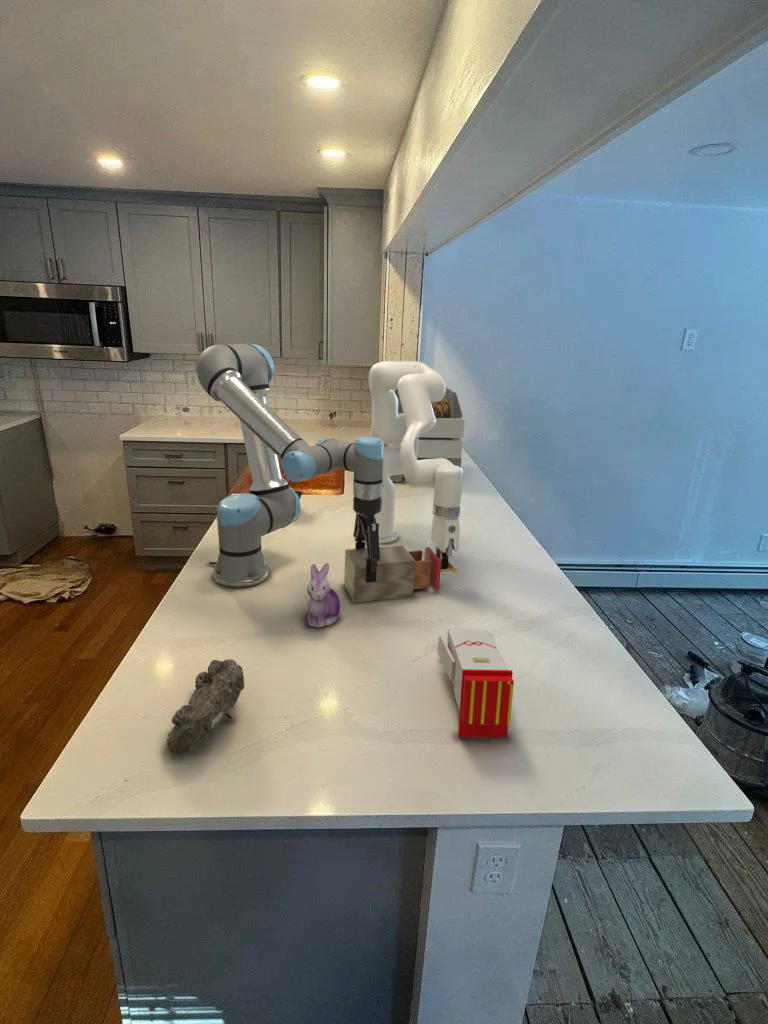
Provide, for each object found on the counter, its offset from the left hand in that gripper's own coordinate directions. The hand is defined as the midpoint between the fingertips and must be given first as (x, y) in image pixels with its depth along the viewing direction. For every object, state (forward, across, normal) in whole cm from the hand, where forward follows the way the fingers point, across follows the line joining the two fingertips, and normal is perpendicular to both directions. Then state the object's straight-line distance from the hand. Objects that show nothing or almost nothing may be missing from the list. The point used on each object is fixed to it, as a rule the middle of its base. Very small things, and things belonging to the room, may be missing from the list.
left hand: (365, 572), depth 156 cm
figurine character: (+6, +65, +10) cm, 66 cm away
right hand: (+1, 0, -23) cm, 23 cm away
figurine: (+6, -12, +14) cm, 19 cm away
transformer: (+6, +112, -58) cm, 126 cm away
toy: (+6, -47, -10) cm, 49 cm away
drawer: (+5, 0, -15) cm, 16 cm away
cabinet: (+6, 0, -4) cm, 7 cm away
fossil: (+6, -42, +42) cm, 60 cm away
